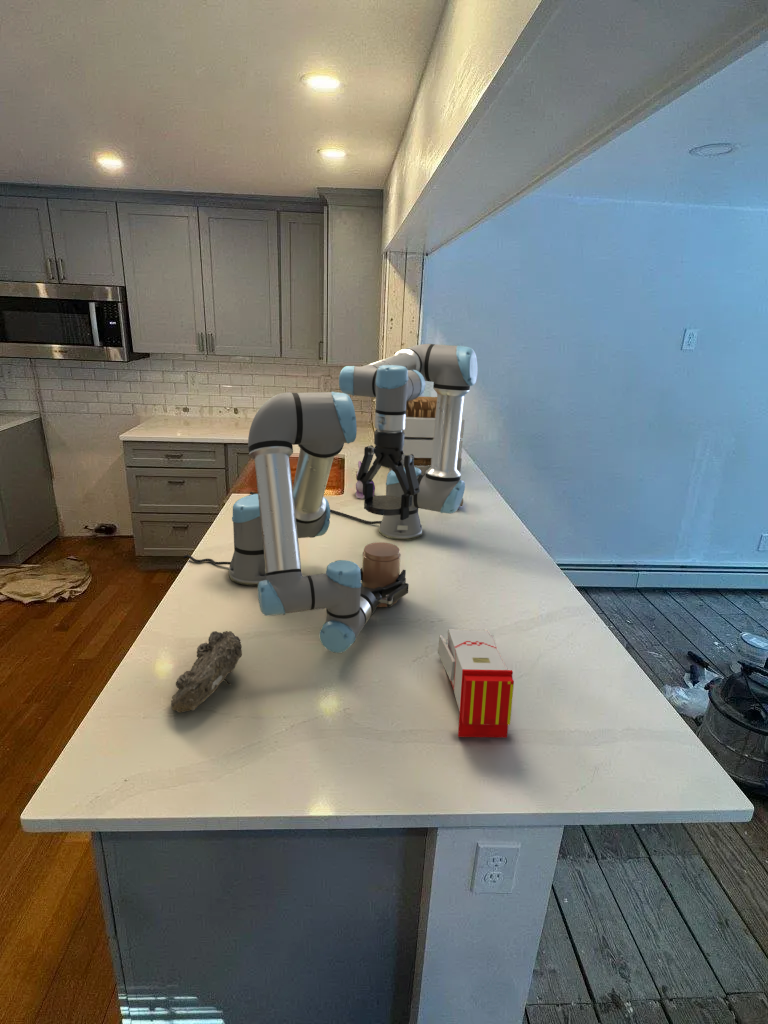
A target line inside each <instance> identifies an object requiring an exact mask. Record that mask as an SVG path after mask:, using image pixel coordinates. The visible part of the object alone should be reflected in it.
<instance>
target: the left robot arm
mask: <svg viewBox="0 0 768 1024" xmlns="http://www.w3.org/2000/svg"><path fill="white" fill-rule="evenodd" d="M357 431H358V429H357V417H356V410H355V405H354V403H353V399H352V398H351V395H349V394H345V393H343V392H337V391H325V392H323V391H319V392H317V391H315V392H289V391H288V392H280V393H277V394H276V395H274V396H273V395H272V396H271V397H270V398H268V399H267V400H266V401H265V402H264V403H263V404H262V405H261V406H260V407H259V409H258V410H257V412H256V413H255V414H254V417H253V419H252V422H251V425H250V428H249V431H248V439H247V446H248V456H249V458H251V459H252V460H253V461H254V468H255V479H256V488H257V489H256V490H257V494H253V495H251V494H249V495H246V496H243V497H241V498H239V499H238V500H236V501H235V502H234V504H233V505H232V516H231V521H232V527H233V528H232V529H233V554H232V557H231V561H215V560H213V559H212V558H203V559H196V558H194V557H193V556H192V555H190V554H185V555H184V556H183V557H182V558H183V559H187V558H188V559H190V560H191V561H192V562H194V563H205V562H210V563H211V564H213V565H217V566H219V565H221V566H222V565H227V566H229V567H228V577H229V579H230V580H231V581H232V582H234V583H236V584H238V585H242V586H249V587H250V586H252V587H253V586H254V587H255V586H256V587H257V599H258V607H259V611H260V612H261V614H263V615H264V616H265V617H267V616H269V617H270V616H279V615H281V616H282V615H283V616H285V615H286V614H293V613H294V614H295V613H300V612H306V611H316V610H324V609H325V610H326V611H325V614H326V615H325V616H326V617H325V618H326V619H325V622H324V623H323V625H322V627H321V628H320V630H319V634H318V635H319V641H320V643H321V645H322V647H324V648H325V649H326V650H327V651H329V652H332V653H334V654H341V653H344V652H346V651H347V650H349V648H350V647H352V645H353V644H354V643H355V642H356V639H357V638H358V636H359V635H360V633H361V632H362V630H363V629H364V627H365V626H366V624H367V623H368V621H369V620H370V618H371V617H372V615H373V614H374V613H375V611H376V609H377V608H378V607H377V606H378V605H380V604H381V603H385V604H387V607H386V608H391V607H393V605H394V604H393V603H394V602H396V601H397V600H400V599H402V598H403V597H405V596H406V595H407V594H409V585H410V584H409V583H407V578H406V575H407V574H406V571H407V570H406V569H402V571H400V575H399V576H398V578H397V579H396V582H395V583H393V584H390V585H387V586H385V587H377V588H375V589H374V588H368V587H363V585H362V567H361V568H360V566H359V565H358V564H357V563H356V562H353V561H352V560H347V559H338V560H335V561H332V562H329V564H327V566H326V570H325V573H318V574H309V575H303V573H302V562H301V560H302V559H301V552H300V543H299V542H300V541H299V539H307V538H311V539H312V538H316V537H322V536H324V535H325V534H326V533H327V531H329V528H330V523H331V521H330V519H331V512H330V509H331V506H330V502H329V501H328V499H327V498H326V497H325V492H326V489H327V484H328V481H329V477H330V473H331V470H332V465H333V462H334V458H335V457H336V456H338V455H339V454H340V453H341V452H342V450H343V449H344V446H345V444H348V445H349V444H350V443H354V442H355V441H356V439H357V433H358V432H357ZM293 446H298V447H299V453H298V458H297V463H296V468H295V469H296V470H295V474H294V479H293V478H292V471H291V463H290V457H291V456H292V455H293V453H294V447H293ZM292 479H293V480H292ZM397 602H398V601H397ZM397 602H396V603H397Z"/></svg>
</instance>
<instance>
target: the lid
mask: <svg viewBox="0 0 768 1024" xmlns="http://www.w3.org/2000/svg"><path fill="white" fill-rule="evenodd" d="M364 510H366V511H367V512H368V513H370V514H372V515H373V514H374V515H378V516H383V515H385V516H392V515H399V514H401V498H400V497H395V496H386V494H385V495H383V494H382V495H374V496H373V497H370V498H368V499H366V500H365V509H364Z"/></svg>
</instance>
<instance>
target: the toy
mask: <svg viewBox="0 0 768 1024" xmlns="http://www.w3.org/2000/svg"><path fill="white" fill-rule="evenodd" d="M446 640H447V643H446V641H445V639H444V636H443V635H442V634H439V637H438V646H437V656H438V657H439V659H440V661H441V663H442V666H443V668H444V670H445V672H446V674H447V677H448V679H449V681H450V684H451V687H452V690H453V693H454V697H455V701H456V705H457V708H458V711H459V714H458V715H459V716H458V730H457V731H458V732H457V737H458V738H508V731H509V726H510V725H511V717H512V707H513V697H514V696H513V695H514V684H515V680H514V679H513V673H514V671H513V670H512V669H508V667H507V665H506V662H505V661H504V659H503V658H502V655H501V653H500V651H499V649H498V647H497V643H496V639H495V637H494V635H493V634H491V632H490V631H489V629H467V628H466V629H465V628H463V629H461V628H460V629H459V628H448V630H447V639H446Z"/></svg>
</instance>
